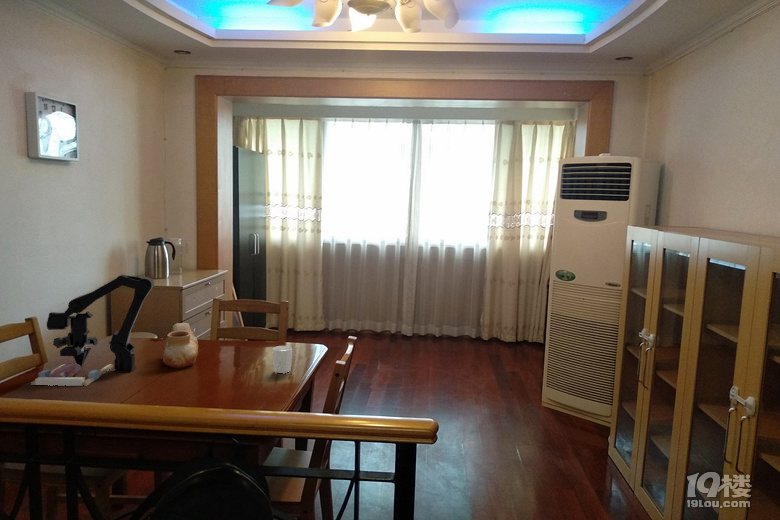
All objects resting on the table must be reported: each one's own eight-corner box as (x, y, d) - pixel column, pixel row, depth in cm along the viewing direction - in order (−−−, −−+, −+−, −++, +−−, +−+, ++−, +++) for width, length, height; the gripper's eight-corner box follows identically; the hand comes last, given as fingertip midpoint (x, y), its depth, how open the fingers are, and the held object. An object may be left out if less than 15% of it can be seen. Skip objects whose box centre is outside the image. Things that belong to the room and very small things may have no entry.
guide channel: (113, 367, 209) (113, 360, 209) (87, 385, 187) (87, 377, 187) (62, 367, 207) (62, 359, 207) (30, 385, 185) (29, 377, 185)
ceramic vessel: (199, 351, 237) (199, 319, 235) (197, 368, 212) (197, 333, 211) (166, 353, 232) (166, 321, 231) (161, 370, 208) (160, 334, 206)
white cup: (295, 370, 213) (295, 347, 212) (284, 375, 206) (284, 351, 205) (280, 367, 216) (280, 344, 215) (268, 372, 209) (268, 349, 208)
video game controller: (54, 386, 190) (59, 371, 188) (46, 379, 191) (52, 364, 190) (79, 378, 199) (84, 364, 197) (72, 372, 200) (77, 357, 199)
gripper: (68, 323, 208) (69, 360, 210) (44, 334, 190) (45, 375, 191) (97, 323, 210) (98, 360, 211) (76, 334, 191) (77, 375, 193)
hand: (80, 367), depth 201 cm, fingers closed
